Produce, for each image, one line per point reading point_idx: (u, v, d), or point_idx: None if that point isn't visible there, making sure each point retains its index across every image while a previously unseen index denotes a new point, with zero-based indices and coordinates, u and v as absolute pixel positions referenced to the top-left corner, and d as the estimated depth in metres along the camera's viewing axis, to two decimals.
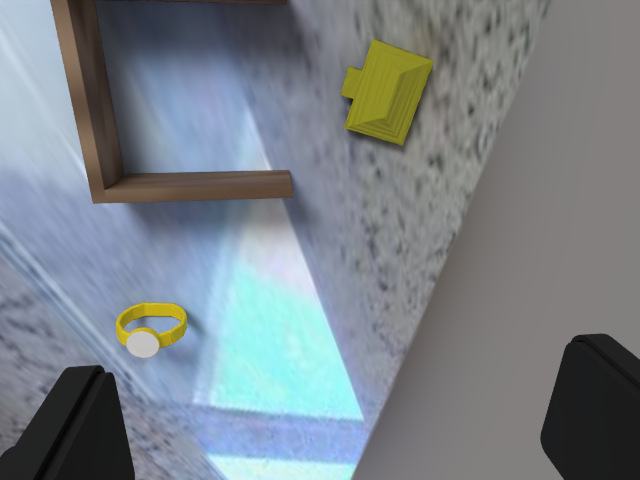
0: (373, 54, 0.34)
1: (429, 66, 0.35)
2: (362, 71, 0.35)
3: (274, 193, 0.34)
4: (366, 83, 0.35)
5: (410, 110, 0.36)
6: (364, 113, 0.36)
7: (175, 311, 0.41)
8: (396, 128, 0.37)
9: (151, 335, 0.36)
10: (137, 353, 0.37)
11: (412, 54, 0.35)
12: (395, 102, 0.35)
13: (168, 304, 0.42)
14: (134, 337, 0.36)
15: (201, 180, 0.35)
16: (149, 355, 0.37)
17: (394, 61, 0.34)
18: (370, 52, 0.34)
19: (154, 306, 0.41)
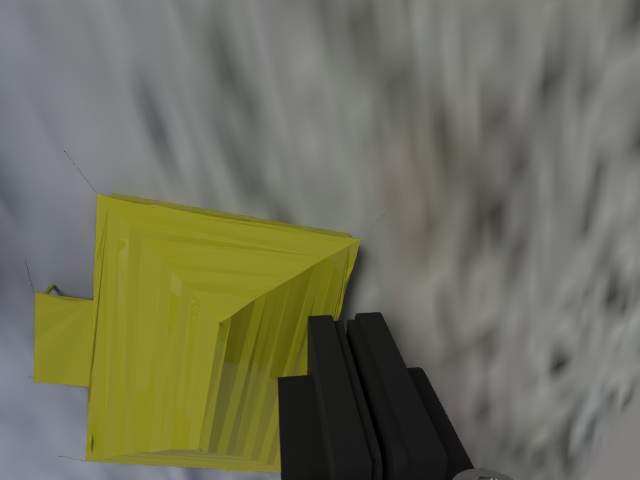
0: (114, 250, 0.09)
1: (345, 259, 0.10)
2: (93, 304, 0.09)
3: None
4: (117, 342, 0.10)
5: None
6: (135, 428, 0.10)
7: None
8: (260, 448, 0.11)
9: None
10: None
11: (273, 229, 0.09)
12: (230, 397, 0.10)
13: None
14: None
15: None
16: None
17: (198, 271, 0.09)
18: (103, 242, 0.09)
19: None
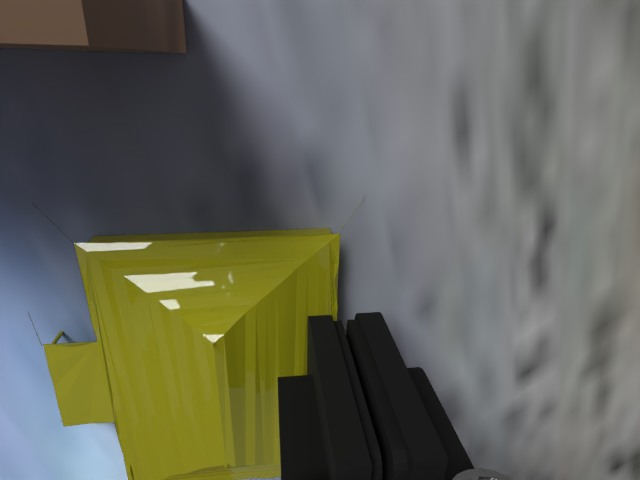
0: (103, 291, 0.09)
1: (329, 256, 0.09)
2: (98, 345, 0.10)
3: None
4: (128, 377, 0.10)
5: None
6: (165, 453, 0.11)
7: None
8: None
9: None
10: None
11: (249, 241, 0.09)
12: (245, 410, 0.10)
13: None
14: None
15: None
16: None
17: (184, 297, 0.09)
18: (91, 287, 0.09)
19: None
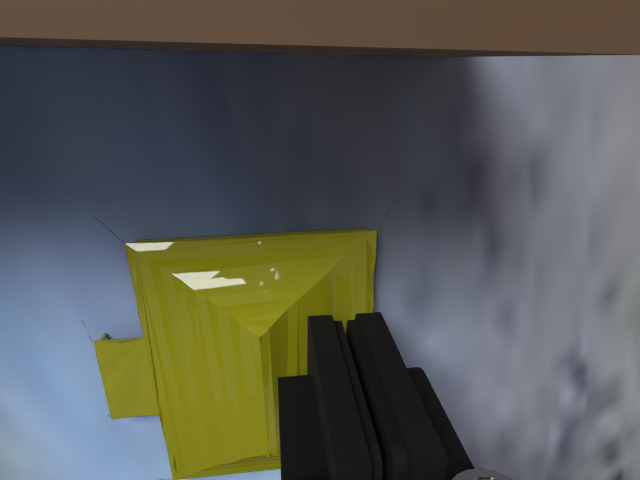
0: (151, 289, 0.09)
1: (366, 252, 0.10)
2: (145, 341, 0.10)
3: None
4: (174, 371, 0.10)
5: None
6: (208, 444, 0.11)
7: None
8: None
9: None
10: None
11: (291, 239, 0.09)
12: None
13: None
14: None
15: None
16: None
17: (229, 294, 0.09)
18: (140, 285, 0.09)
19: None
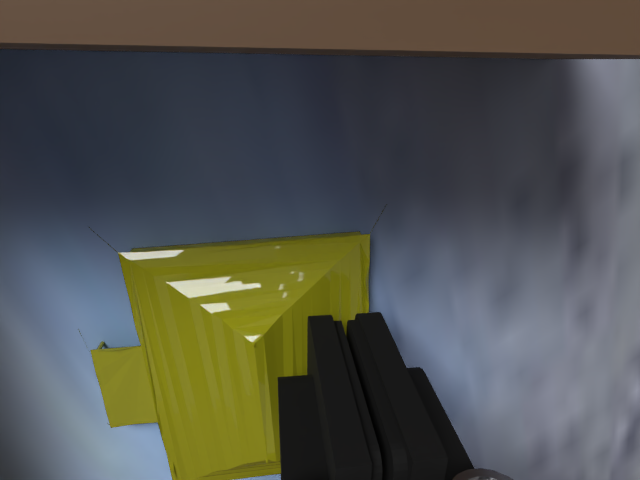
0: (146, 298, 0.09)
1: (360, 256, 0.10)
2: (142, 349, 0.10)
3: None
4: (171, 378, 0.10)
5: None
6: (208, 450, 0.11)
7: None
8: None
9: None
10: None
11: (284, 245, 0.09)
12: None
13: None
14: None
15: None
16: None
17: (223, 301, 0.09)
18: (134, 294, 0.10)
19: None
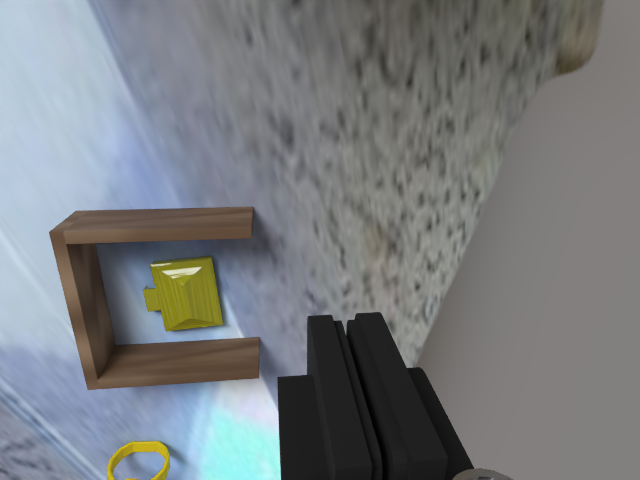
0: (156, 275, 0.39)
1: (209, 263, 0.39)
2: (156, 289, 0.40)
3: (243, 375, 0.39)
4: (163, 296, 0.40)
5: (213, 299, 0.40)
6: (174, 317, 0.40)
7: (160, 449, 0.47)
8: (208, 317, 0.41)
9: None
10: None
11: (190, 261, 0.39)
12: (193, 303, 0.40)
13: (154, 442, 0.47)
14: None
15: (181, 359, 0.40)
16: None
17: (175, 275, 0.39)
18: (154, 274, 0.39)
19: (141, 444, 0.47)
